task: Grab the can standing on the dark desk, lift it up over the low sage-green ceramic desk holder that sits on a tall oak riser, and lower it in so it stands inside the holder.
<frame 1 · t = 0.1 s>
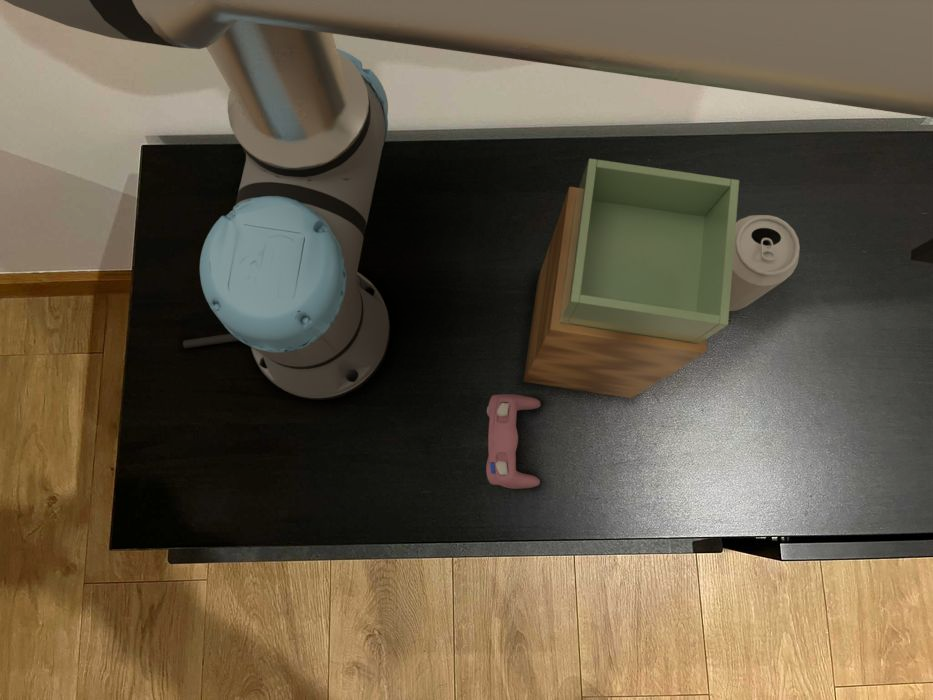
hand: (930, 172, 52), 28 cm above the table, tool pointing down, fingers open, 13 cm apart
can: (722, 282, 79), on the table
holder: (635, 267, 54), resting on riser
riser: (583, 337, 78), on the table
video game controller: (512, 442, 75), on the table
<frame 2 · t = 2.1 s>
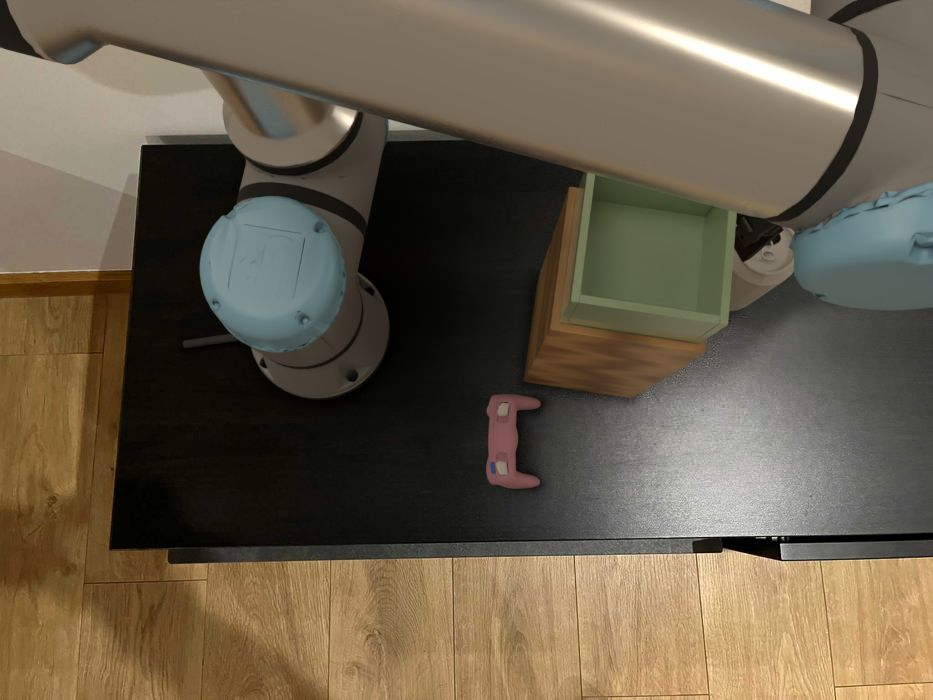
hand: (805, 215, 61), 19 cm above the table, tool pointing down, fingers open, 13 cm apart
nothing on the table moved.
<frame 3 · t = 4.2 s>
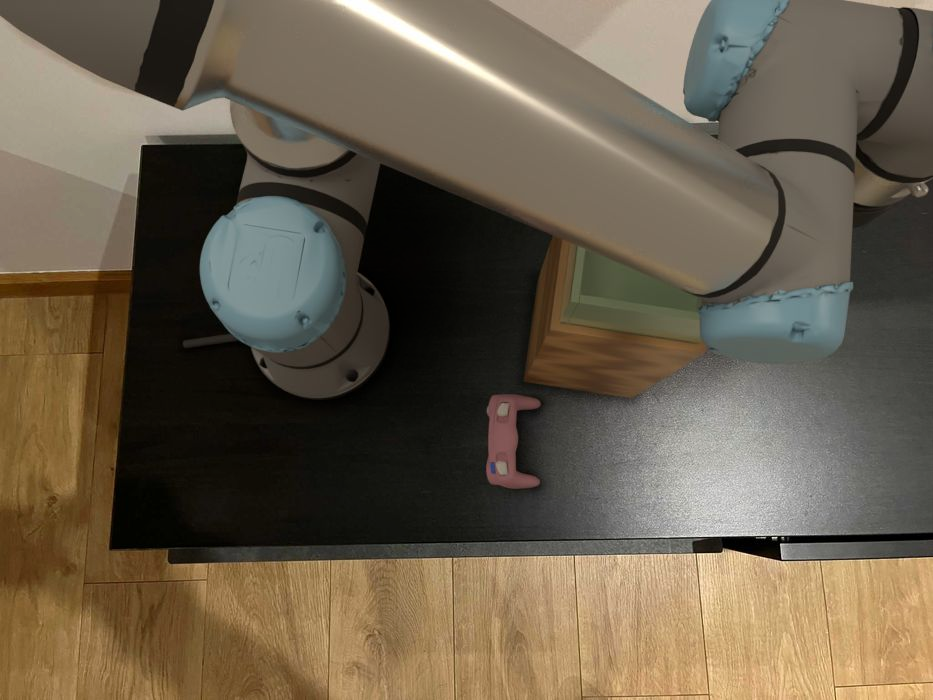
hand: (743, 265, 74), 6 cm above the table, tool pointing down, fingers closed on can, 7 cm apart
can: (722, 282, 79), on the table, touching gripper
everything else where it was.
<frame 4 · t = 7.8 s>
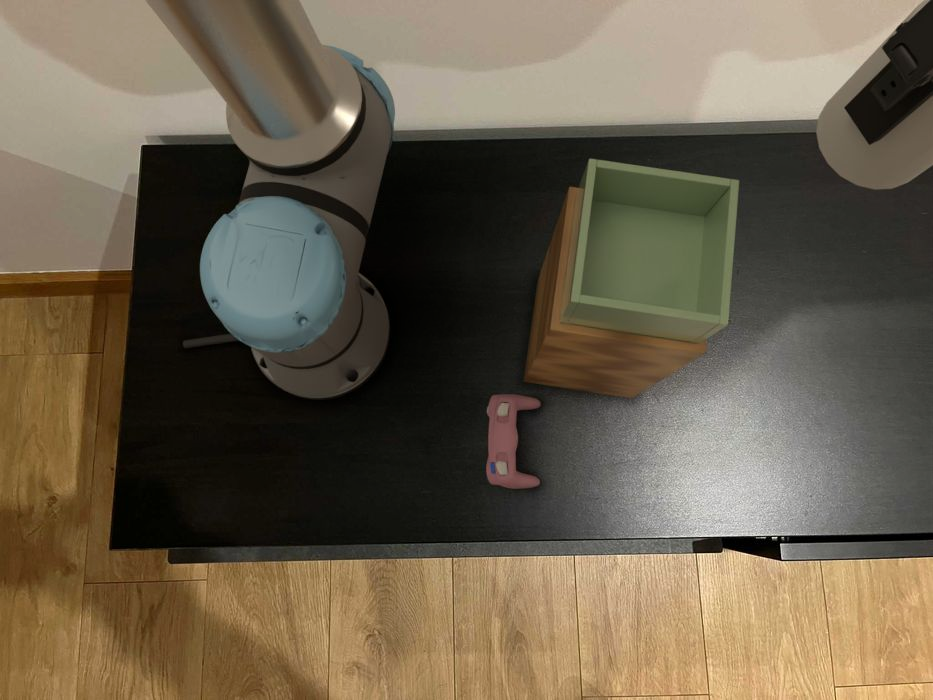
hand: (919, 96, 41), 39 cm above the table, tool pointing down, fingers closed on can, 7 cm apart
can: (863, 145, 47), point 33 cm above the table, touching gripper
everything else where it was.
when the fingers open (33 cm above the table, at t = 11.5 s): can drops 3 cm, point 25 cm above the table.
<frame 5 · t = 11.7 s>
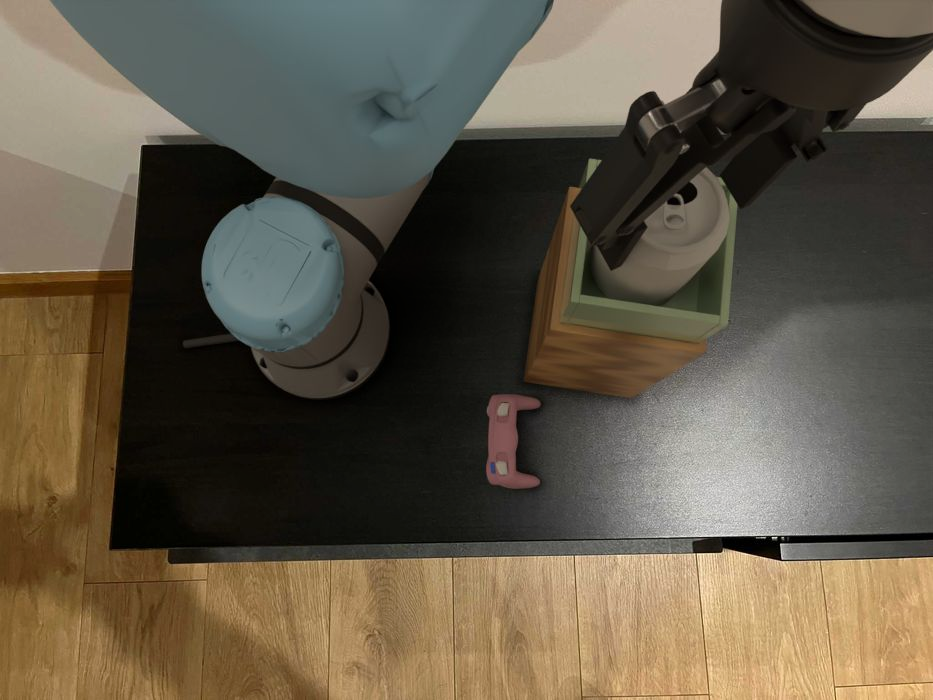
hand: (671, 219, 45), 33 cm above the table, tool pointing down, fingers open, 9 cm apart
can: (635, 265, 54), point 25 cm above the table, touching gripper
everything else where it was.
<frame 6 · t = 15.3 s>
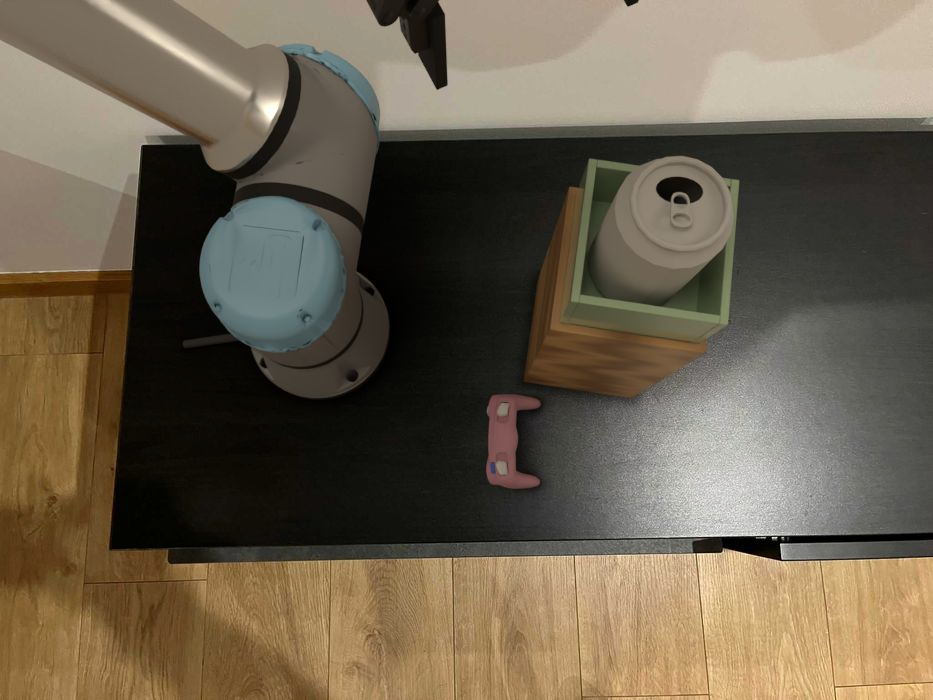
hand: (529, 29, 44), 37 cm above the table, tool pointing down, fingers open, 13 cm apart
can: (633, 267, 54), point 24 cm above the table, touching holder
everything else where it was.
at the end: can 0.4 cm off-centre on the holder, point 0.4 cm above the holder's base; can tilted 0°; the gripper is holding nothing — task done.
